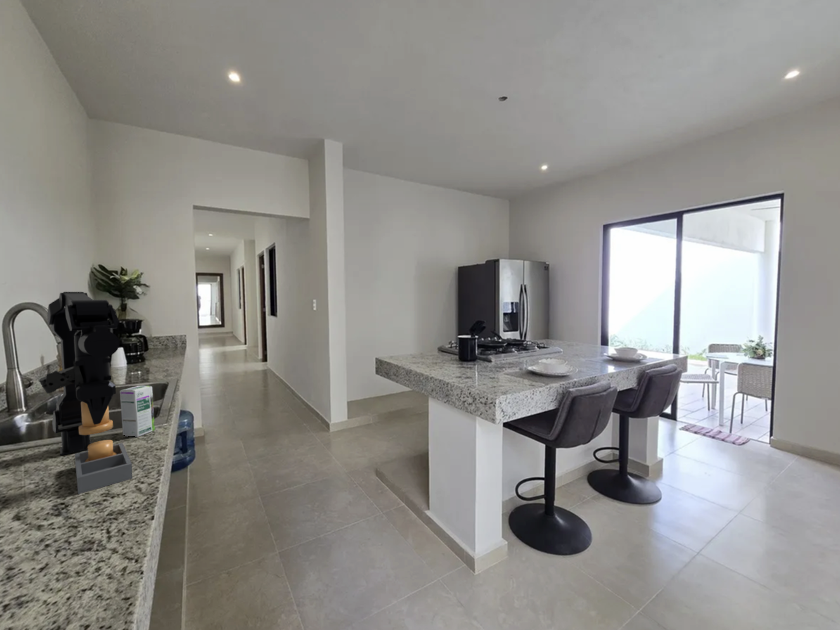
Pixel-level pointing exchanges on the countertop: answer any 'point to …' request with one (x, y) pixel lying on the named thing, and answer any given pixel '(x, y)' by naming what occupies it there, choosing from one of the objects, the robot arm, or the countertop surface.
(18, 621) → the countertop surface
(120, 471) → the gray divided tray
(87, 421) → the tan pear-shaped knob
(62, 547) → the countertop surface
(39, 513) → the countertop surface
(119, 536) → the countertop surface
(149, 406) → the syrup box
